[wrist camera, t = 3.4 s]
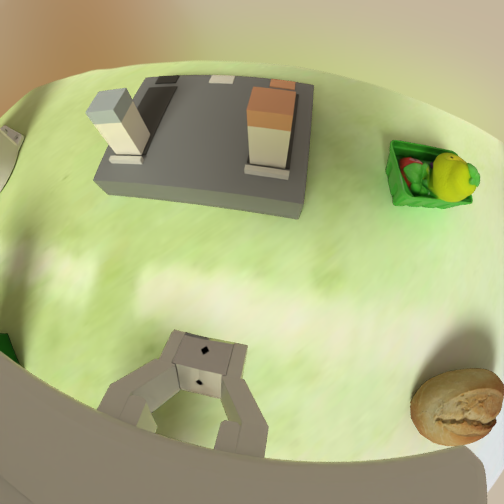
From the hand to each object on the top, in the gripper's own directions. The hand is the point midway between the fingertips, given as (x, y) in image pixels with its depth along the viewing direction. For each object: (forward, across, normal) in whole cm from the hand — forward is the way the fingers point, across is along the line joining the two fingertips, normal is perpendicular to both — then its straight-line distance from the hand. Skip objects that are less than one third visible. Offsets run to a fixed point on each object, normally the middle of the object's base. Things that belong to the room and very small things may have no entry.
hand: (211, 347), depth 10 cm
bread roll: (+8, -28, +17) cm, 33 cm away
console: (+28, +8, -4) cm, 29 cm away
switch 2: (+22, 0, -4) cm, 22 cm away
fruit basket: (+26, -20, -2) cm, 33 cm away
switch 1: (+22, +16, -4) cm, 27 cm away
